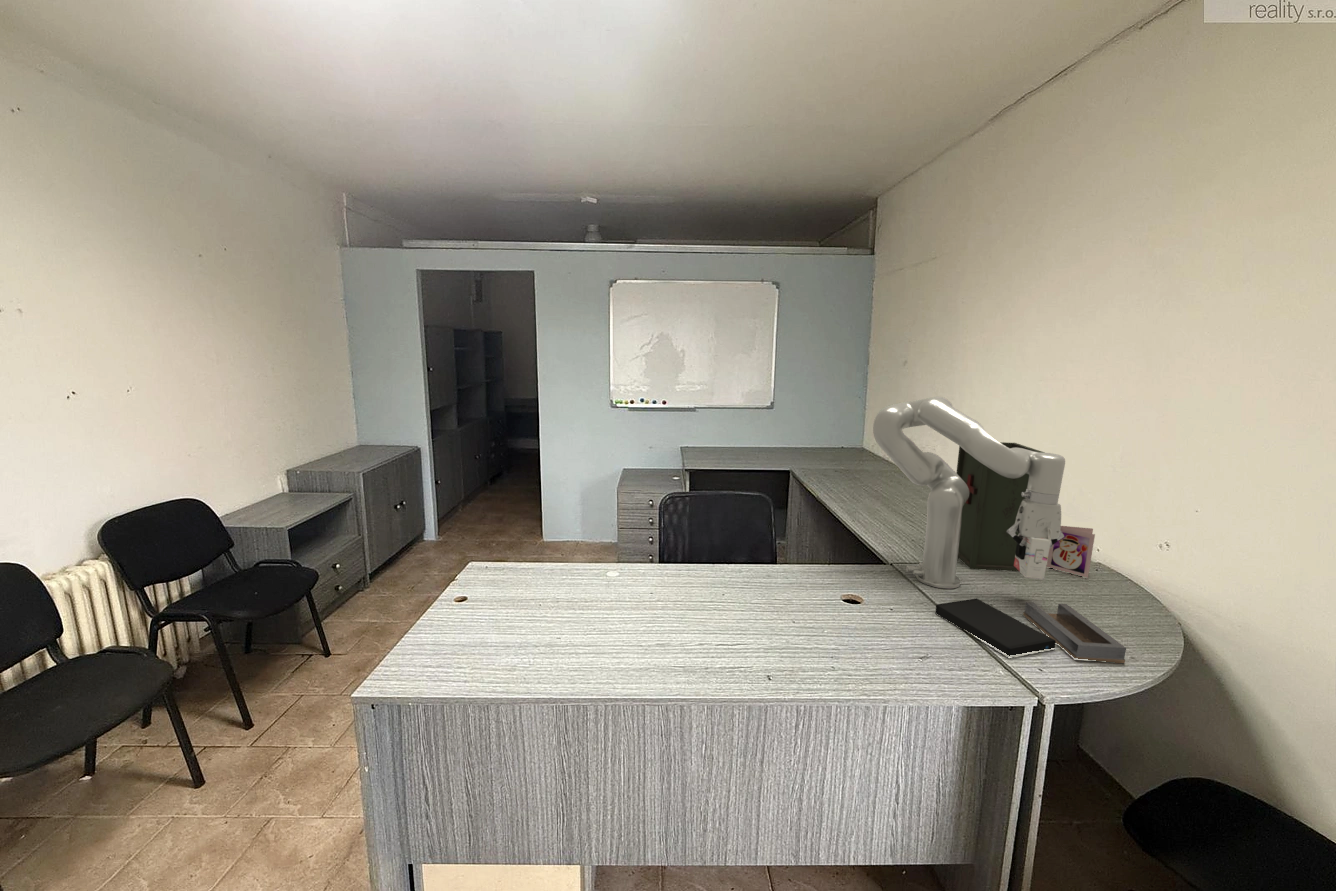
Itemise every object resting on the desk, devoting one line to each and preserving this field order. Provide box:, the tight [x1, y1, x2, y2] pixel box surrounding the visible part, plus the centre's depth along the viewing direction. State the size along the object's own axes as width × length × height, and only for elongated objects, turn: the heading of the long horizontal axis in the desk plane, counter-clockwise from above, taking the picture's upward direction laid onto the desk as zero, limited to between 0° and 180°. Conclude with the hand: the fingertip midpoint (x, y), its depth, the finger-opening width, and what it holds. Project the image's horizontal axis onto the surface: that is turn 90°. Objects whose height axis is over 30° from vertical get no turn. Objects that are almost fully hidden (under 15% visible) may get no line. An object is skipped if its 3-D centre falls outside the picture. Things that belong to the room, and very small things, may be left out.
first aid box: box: [955, 441, 1046, 572], centre depth 185 cm, size 18×18×40 cm
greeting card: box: [1046, 525, 1096, 579], centre depth 178 cm, size 11×7×15 cm, turn 39°
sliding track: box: [1022, 601, 1127, 664], centre depth 137 cm, size 11×22×4 cm, turn 175°
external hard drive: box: [935, 597, 1056, 656], centre depth 141 cm, size 14×23×3 cm, turn 17°
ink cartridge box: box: [1014, 528, 1051, 580], centre depth 154 cm, size 9×5×15 cm, turn 169°
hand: (1030, 557), depth 154 cm, fingers closed on ink cartridge box, 5 cm apart
